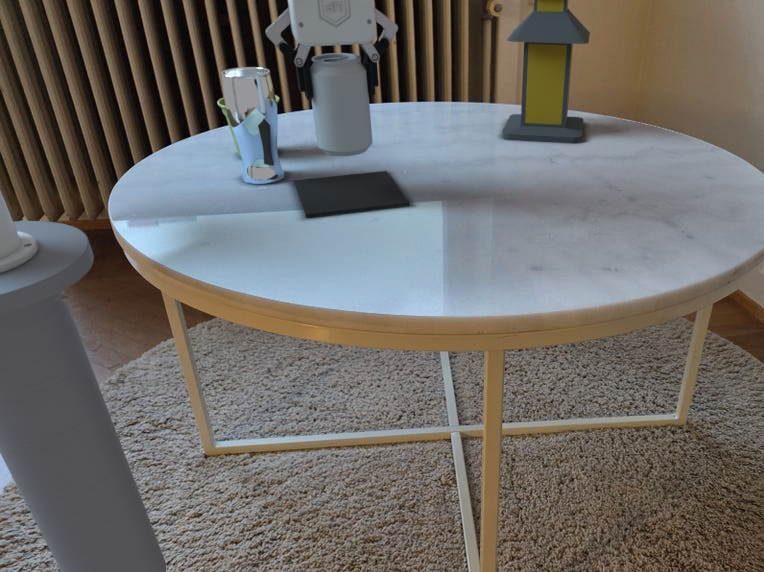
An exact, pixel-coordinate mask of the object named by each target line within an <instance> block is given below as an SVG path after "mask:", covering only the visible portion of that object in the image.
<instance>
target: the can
mask: <svg viewBox="0 0 764 572" xmlns="http://www.w3.org/2000/svg"><path fill="white" fill-rule="evenodd" d="M361 59H362V57H361V56H360V55H359V54H355V53H348V52H333V53H330V52H329V53H321V54H318V55H314V56H312V57H311V59H310V61H311V62H312V65H311V66H310V67H309V70H310V78H311V86H312V94H313V98H312V100H311V106H312V115H313V124H314V130H315V138H316V146H317V148H319V149H320V150H322V151H323V152H324V153H325V154H326V155H328V156H333V157H352V156H358V155H362V154H364V153H366V152H367V151H368V149H369V148H370V147H371V146H372V145H373V131H372V129H373V128H372V118H371V106H370V96H369V95H370V94H369V93H368V82H367V70H366V68H365V67H364V66H363V63H362V62H361Z"/></svg>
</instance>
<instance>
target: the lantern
mask: <svg viewBox="0 0 764 572" xmlns="http://www.w3.org/2000/svg"><path fill="white" fill-rule="evenodd" d="M590 34H591V32H590V31H589V30H588V28H586V27H585V25H584V24H583V23H582V22H581V21H580V20H579V19H578V17H576V16H575V14H573V12H572V11H571V10H570V9H569V0H533V10H532V11H531V12H530V13H529V14H528V16H527V17H525V18H524V19H523V20H522V21H521V22H520V23H519V25H517V26H516V28H515V29H513V31H512V32H511V33H510V35H509V36H508V37H507V38H506V41H507V42H513V43H514V42H515V43H523V60H522V81H521V82H522V83H521V84H522V85H521V105H520V106H521V110H520V111H521V112H520V113H513V114H510V115H509V117H508V118H507V121H506V123H505V125H504V128H503V130H502V133H501V135H502V136H501V137H502V139H504V140H510V141H529V142H533V141H534V142H550V143H570V144H579V143H581V142H582V138H583V129H584V118H582V117H580V116H568V114H569V113H568V112H569V99H570V88H571V87H570V86H571V76H572V75H571V74H572V61H573V47H574V45H586V44H589V41H590Z"/></svg>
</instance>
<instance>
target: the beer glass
mask: <svg viewBox="0 0 764 572" xmlns="http://www.w3.org/2000/svg"><path fill="white" fill-rule="evenodd" d="M220 76H221V86H222V92H223V94H222V95H223V98H224V100H225V106H226V110H227V115H228V118H229V121H230V124H231V127H232V129H233V132H234V135H235V138H236V140H237V143H238V146H239V149H240V152H241V157H240V158H241V164H242V165H241V169H242V170H241V173H242V174H241V176H242V180H243V182H244V183H248V184H251V185H269V184H272V183H273V184H274V183H276V182H280V181H282V180H283V179H284V178H285V172H284V169H283V167H282V164H281V161H280V156H279V149H278V129H279V126H278V124H279V123H278V122H279V121H278V118H279V117H278V104H277V105H276V98H275V95H276V94H275V93H276V92H275V89H274V84H273V80H272V76H271V71H270V69H269V68H265V67H258V66H243V67H233V68H228V69H225V70H222V71H221V72H220Z"/></svg>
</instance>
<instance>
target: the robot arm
mask: <svg viewBox="0 0 764 572" xmlns="http://www.w3.org/2000/svg"><path fill="white" fill-rule="evenodd" d="M377 24H379V25H380V26H381V27H382V32H381V34H380V36H379V37H378V38H377V39H376V41H375V42H374V43H373V42H372V41H373V40H375V38H376V35H377ZM289 25H290V26H289ZM287 27H290V30H291V34H292V36H293V37H294V39H295V41H296V45H295V48H293V47H292V46H291V45H290V44H289V43H287V42H286V41H285V40H284V38H283V37H282V32H283V31H284V30H285V29H287ZM264 31H265V35H266V38H268V39H269V40H270V42H272V43H273V45H274V46H275V47H276V48H277V49H278V50H279V51H280V53H282V54H283V55H284V56H285V57H286V58H288V60H289V61H291V62H292V63H293V64H294V65H295V69H296V79H297V85H298V90H299V93H304V96H305V98H306V100H307V101H312V98H313V94H312V86H311V78H310V70H309V69H310V67H309V65H308V64H307V58H308V55H309V52H310V50H311V48H312V47H327V46H344V45H359V46H360V48H361V49H362V52H364V58H363V59H364V60H362V65H363V66H364V67H365V68H366V70H367V82H368V93H369V95H371V96H375V95H376V88H377V87H379V84H380V83H379V72H378V62H379V61H380V58H381V56H383V54H384V53H385V52H386V51H387V49H388V48H389V47H390V43H391V41H392V40H393V39H394V37H395V35H396V33H397V32H398V31H399V26H398V24H397V23H395V22H394V21H393V20H392V19H390V18H389V17H388V16H386V15H385V14H384V13H382V12H381V11H379V10H378V9H377V8H376V7H375V5H374V0H287V8H286V9H285V10H284V11H282V13H281V14H280V15H279V16H278V17H277V18H276V19H274V21H273V22H271V24H270V25H269V26H268V27H266V28H265V30H264ZM1 190H2V189H0V273H3V272H6V271H8V270H11V269H13V268H16V267H18V266H20V265H22V264H24V263H25V262H27V261H28V260H30V259H31V258H32V257H33V256H34V255H35V254H36V252H37V251H38V245H37V243H36V240H35V238H34V237H33V236H31V235H29V234H27V233H23V232H18V231H17V230H16V228H15V225H14V223H13V222H14V220H13V218H12V216H11V213H10V211H9V209H8V205H7V203H6V201H5V198H4V196H3V193H2V191H1Z"/></svg>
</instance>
